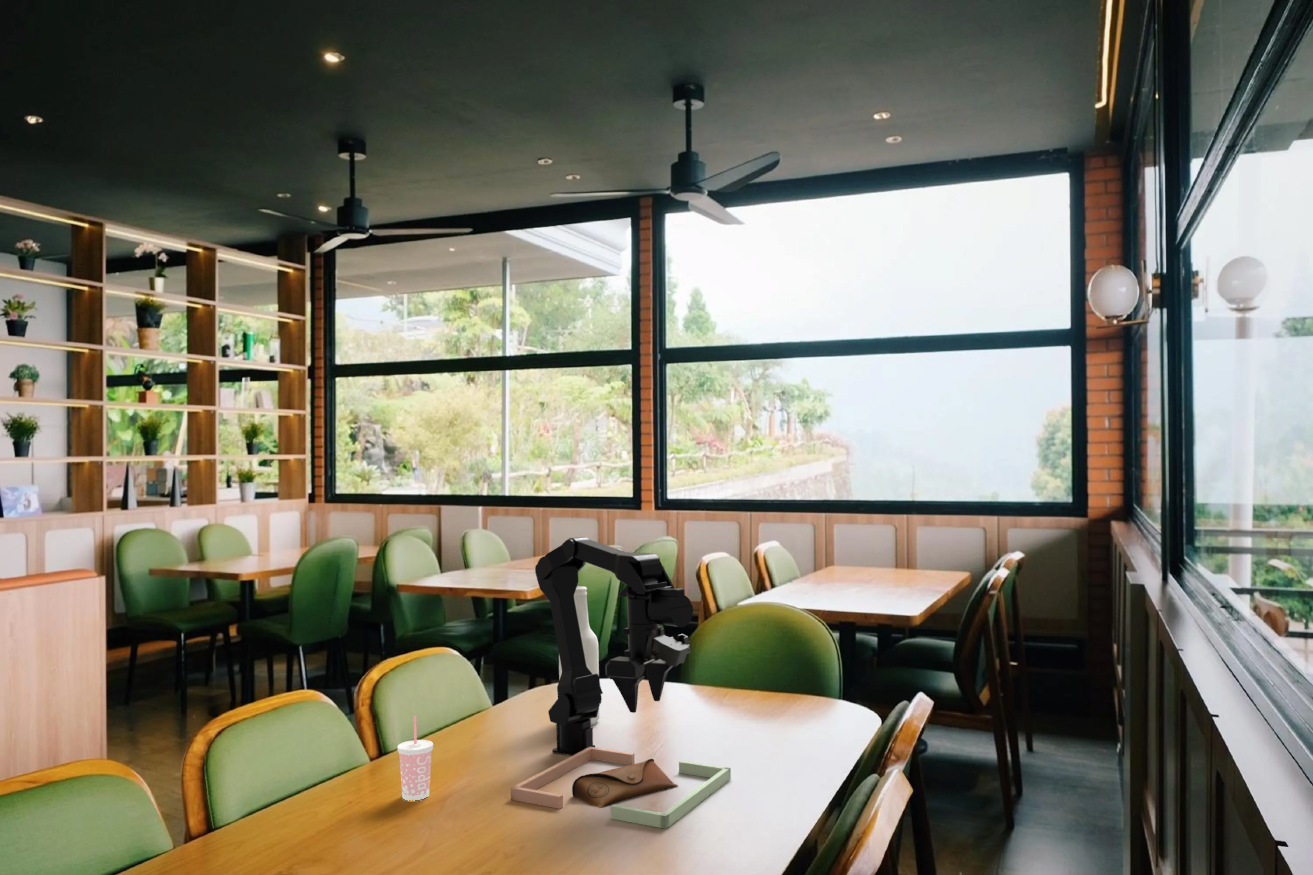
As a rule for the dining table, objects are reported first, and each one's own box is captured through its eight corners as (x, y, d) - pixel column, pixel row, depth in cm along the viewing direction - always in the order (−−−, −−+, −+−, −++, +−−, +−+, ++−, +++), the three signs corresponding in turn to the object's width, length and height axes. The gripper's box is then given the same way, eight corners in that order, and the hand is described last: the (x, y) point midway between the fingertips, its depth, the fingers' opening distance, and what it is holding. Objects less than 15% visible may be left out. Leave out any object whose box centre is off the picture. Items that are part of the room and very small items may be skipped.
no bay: (511, 799, 164) (510, 787, 165) (589, 756, 188) (589, 746, 188) (559, 808, 160) (559, 796, 160) (634, 763, 183) (634, 753, 183)
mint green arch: (611, 818, 155) (611, 806, 155) (681, 771, 178) (681, 760, 178) (666, 828, 151) (665, 815, 151) (730, 778, 174) (730, 767, 174)
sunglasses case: (599, 809, 159) (587, 769, 162) (579, 820, 164) (567, 781, 167) (681, 785, 170) (669, 748, 173) (660, 796, 175) (649, 760, 178)
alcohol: (607, 720, 214) (605, 586, 214) (583, 730, 206) (582, 590, 207) (575, 715, 218) (574, 583, 219) (551, 724, 211) (550, 588, 211)
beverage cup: (401, 805, 162) (401, 722, 163) (394, 794, 168) (393, 714, 168) (437, 798, 165) (437, 717, 166) (428, 788, 171) (428, 709, 171)
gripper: (657, 632, 166) (660, 723, 165) (703, 616, 182) (705, 699, 182) (602, 629, 171) (605, 716, 170) (652, 614, 188) (654, 694, 187)
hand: (645, 706), depth 177 cm, fingers open, 9 cm apart
